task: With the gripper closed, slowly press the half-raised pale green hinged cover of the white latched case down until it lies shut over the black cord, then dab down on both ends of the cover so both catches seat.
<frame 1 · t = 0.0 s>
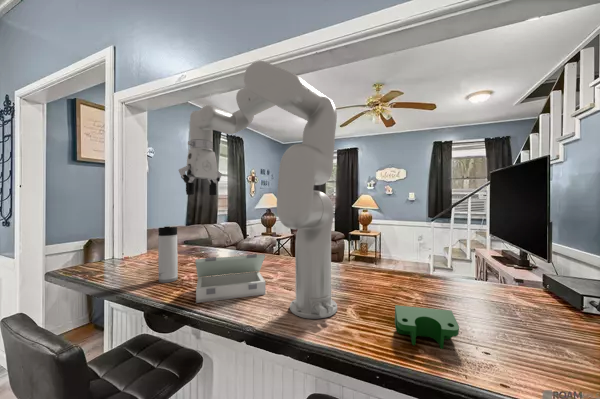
hand: (201, 194, 92), 31 cm above the table, tool pointing down, fingers open, 9 cm apart
travel mug: (168, 280, 95), on the table
clamp: (424, 341, 53), on the table
duct cover: (230, 265, 83), point 8 cm above the table, hinge at 35.0°
white latched case: (230, 291, 82), on the table
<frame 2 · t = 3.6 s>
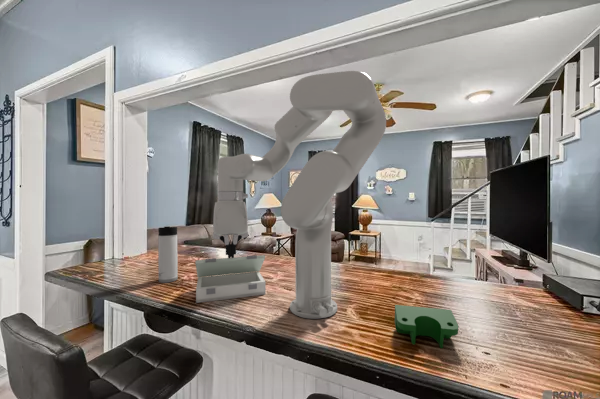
hand: (230, 256, 80), 12 cm above the table, tool pointing down, fingers closed
duct cover: (230, 266, 83), point 8 cm above the table, hinge at 33.4°, touching gripper
everything else where it was.
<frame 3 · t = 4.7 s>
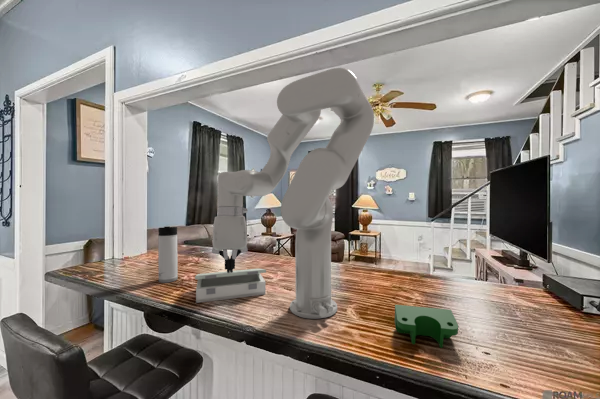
hand: (229, 271, 80), 7 cm above the table, tool pointing down, fingers closed
duct cover: (230, 273, 82), point 6 cm above the table, hinge at 12.5°, touching gripper
everything else where it was.
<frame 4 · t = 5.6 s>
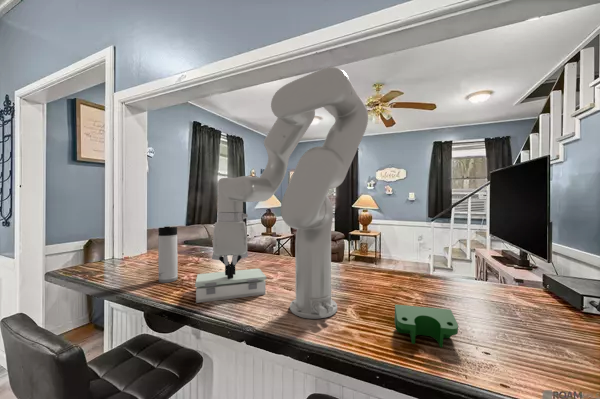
hand: (230, 277, 80), 5 cm above the table, tool pointing down, fingers closed
duct cover: (230, 277, 82), point 5 cm above the table, hinge at 2.7°, touching gripper
everything else where it was.
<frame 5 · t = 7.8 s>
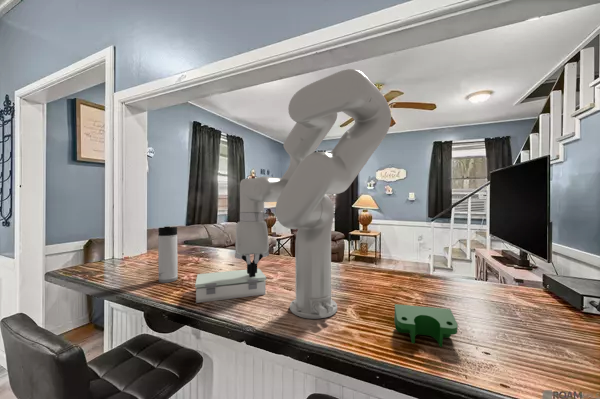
hand: (252, 275, 82), 5 cm above the table, tool pointing down, fingers closed
duct cover: (230, 277, 82), point 5 cm above the table, hinge at 1.9°, touching gripper
everything else where it was.
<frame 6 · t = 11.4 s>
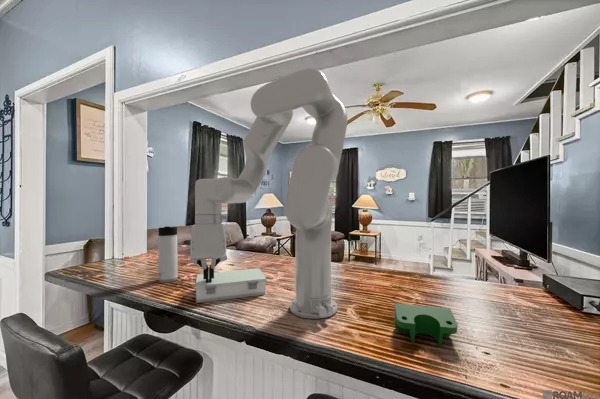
hand: (208, 281, 78), 5 cm above the table, tool pointing down, fingers closed
duct cover: (230, 278, 82), point 4 cm above the table, hinge at -0.1°, touching gripper
everything else where it was.
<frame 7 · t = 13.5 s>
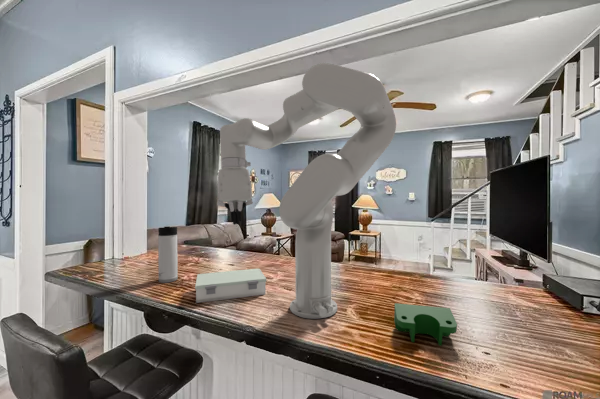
hand: (236, 224, 80), 22 cm above the table, tool pointing down, fingers closed
duct cover: (230, 278, 82), point 4 cm above the table, hinge at -0.1°
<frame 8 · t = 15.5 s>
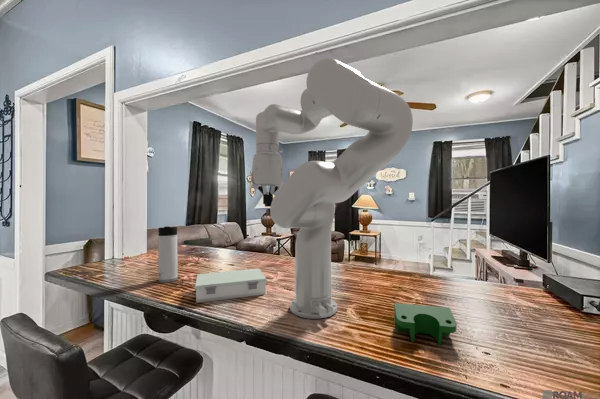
hand: (268, 206, 85), 27 cm above the table, tool pointing down, fingers closed
at the end: duct cover at +0° (first picture: +35°); the gripper is holding nothing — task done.
